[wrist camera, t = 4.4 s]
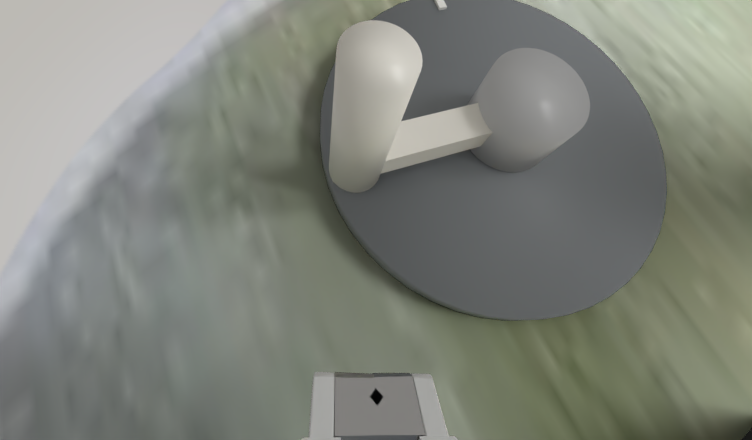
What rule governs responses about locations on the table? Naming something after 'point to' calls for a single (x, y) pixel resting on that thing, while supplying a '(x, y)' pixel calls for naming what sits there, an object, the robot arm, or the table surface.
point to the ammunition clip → (748, 435)
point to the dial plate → (511, 178)
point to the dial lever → (447, 128)
